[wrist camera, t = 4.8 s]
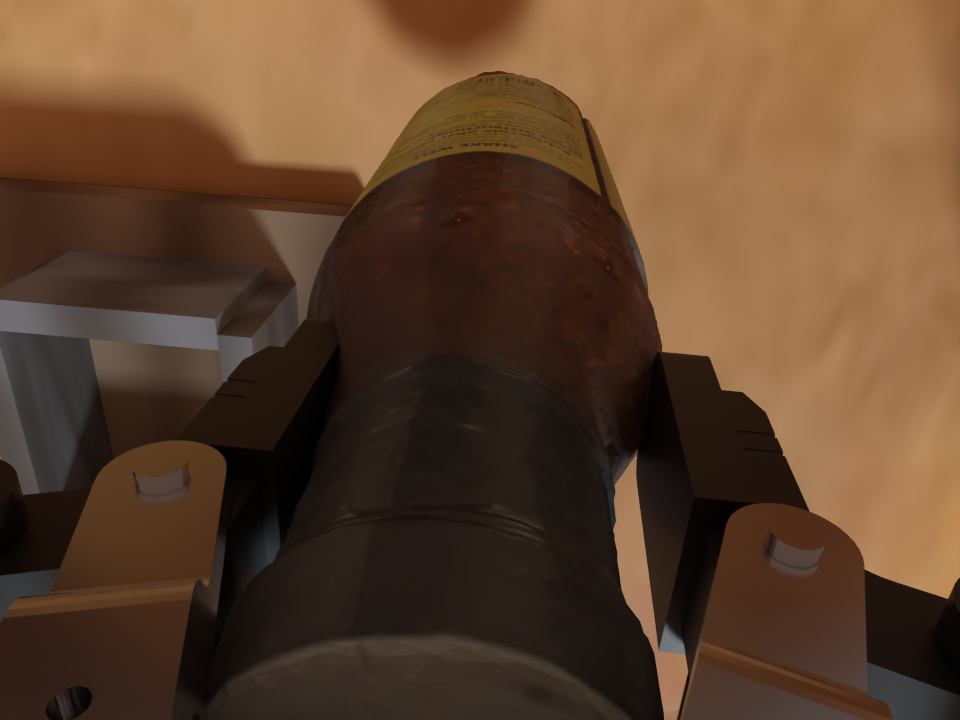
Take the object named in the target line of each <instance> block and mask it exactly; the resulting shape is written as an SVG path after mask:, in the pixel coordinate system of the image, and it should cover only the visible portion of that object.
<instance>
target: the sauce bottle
mask: <svg viewBox="0 0 960 720" xmlns="http://www.w3.org/2000/svg"><path fill="white" fill-rule="evenodd" d="M307 318H311V319H322V320H333V321H334V322H335V325H336V329H337V333H338V337H339V341H340V343H339V352H338V360H337V368H336V376H335V382H334V387H333V390H332V394H331V397H330V401H329V404H328V408H327V411H326V415H325V421H324V427H323V433H322V434H321V436H320V438H319V440H318V442H317V444H316V446H315V449H314V453H313V457H312V462H311V470H310V480H309V483H308V486H307V488H306V490H305V492H304V494H303V495H302V497H301V499H300V501H299V502H298V504H297V506H296V509H295V512H294V515H293V519H292V524H291V526H290V528H289V530H288V533H287V536H286V539H285V541H284V543H283V545H282V546H281V548H280V549H279V551H278V553H277V555H276V560H275V561H273V563H271V564H270V565H268V566H267V567H265V568H264V569H263V570H262V571H261V572H260V573H259V574H258V575H257V576H256V577H255V578H253V579H252V580H251V581H250V582H249V583H248V584H247V585H246V587H245V589H244V590H243V592H242V594H241V595H240V596H239V597H238V598H237V600H236V601H235V603H234V605H233V606H232V608H231V610H230V613H229V615H228V617H227V619H226V621H225V625H224V629H223V632H222V635H221V638H220V640H219V642H218V644H217V646H216V649H215V659H214V662H213V667H212V672H211V676H210V679H209V683H208V694H207V705H206V709H207V720H664V713H663V706H662V700H661V694H660V688H659V681H658V675H657V668H656V662H655V656H654V652H653V650H652V647H651V645H650V642H649V640H648V638H647V636H646V635H645V634H644V633H643V629H642V626H641V623H640V621H639V619H638V618H637V617H636V616H635V614H634V613H633V612H632V610H631V609H630V608H629V606H628V605H627V604H626V601H625V598H624V596H623V593H622V590H621V583H620V575H619V569H618V563H617V550H616V545H615V540H614V532H613V528H614V525H615V522H616V518H615V509H614V496H615V487H614V485H615V484H616V482H617V481H618V479H619V478H620V477H621V475H622V474H623V473H624V471H625V470H626V468H627V467H628V466H629V464H630V463H631V461H632V460H633V459H634V457H635V456H636V455H637V452H638V446H639V444H640V441H641V438H642V436H643V434H644V432H645V426H646V420H647V416H648V411H649V403H650V392H651V382H652V372H653V362H654V358H655V355H656V353H657V352H662V344H661V339H660V334H659V330H658V327H657V321H656V318H655V314H654V309H653V306H652V304H651V302H650V300H649V297H648V285H647V278H646V273H645V267H644V262H643V260H642V257H641V254H640V251H639V248H638V245H637V242H636V240H635V237H634V234H633V231H632V228H631V226H630V223H629V220H628V218H627V215H626V212H625V210H624V207H623V204H622V201H621V198H620V195H619V193H618V190H617V187H616V184H615V182H614V179H613V176H612V174H611V171H610V168H609V166H608V163H607V160H606V158H605V155H604V152H603V149H602V147H601V144H600V141H599V139H598V137H597V134H596V132H595V130H594V129H593V127H592V125H591V123H590V121H589V120H588V119H586V118H582V115H581V112H580V110H579V108H578V106H577V105H576V104H575V103H574V102H573V101H572V100H571V99H570V98H569V97H567V96H566V95H565V94H563V93H562V92H560V91H558V90H557V89H555V88H554V87H553V86H550V85H548V84H545V83H543V82H541V81H540V80H538V79H533V78H528V77H525V76H522V75H516V74H513V73H506V72H503V71H495V72H484V73H481V74H479V75H477V76H475V77H471V78H469V79H467V80H464V81H461V82H458V83H456V84H454V85H451V86H449V87H447V88H445V89H443V90H442V91H440V92H439V93H438V94H436V95H435V96H434V97H433V98H431V99H430V100H429V101H427V102H426V103H425V104H424V105H423V106H422V107H421V108H420V109H419V110H418V111H417V112H416V113H415V115H414V116H413V117H412V119H411V120H410V121H409V123H408V124H407V126H406V127H405V129H404V130H403V132H402V133H401V135H400V136H399V137H398V139H397V140H396V141H395V143H394V145H393V146H392V148H391V149H390V151H389V153H388V154H387V156H386V157H385V159H384V160H383V162H382V163H381V165H380V166H379V168H378V169H377V171H376V172H375V173H374V175H373V176H372V178H371V179H370V181H369V182H368V184H367V185H366V187H365V188H364V190H363V192H362V193H361V195H360V196H359V198H358V199H357V201H356V202H355V204H354V205H353V207H352V208H351V210H350V211H349V213H348V214H347V216H346V217H345V219H344V220H343V222H342V223H341V225H340V227H339V228H338V230H337V231H336V233H335V235H334V237H333V239H332V240H331V242H330V244H329V246H328V248H327V250H326V252H325V254H324V257H323V259H322V261H321V264H320V267H319V270H318V272H317V275H316V278H315V281H314V284H313V288H312V291H311V295H310V299H309V304H308V311H307Z"/></svg>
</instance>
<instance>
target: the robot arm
mask: <svg viewBox="0 0 960 720" xmlns="http://www.w3.org/2000/svg"><path fill="white" fill-rule="evenodd" d="M339 343H340V341H339V337H338V333H337V329H336V325H335V322H334V321H333V320H322V319H311V318H306V319H305V320H304V321H303V322H302V324H301V325H300V326H299V328H298V329H297V330H296V331H295V333H294V334H293V335H292V337H291V338H290V339H289V341H288V342H287V343H286V345H285V346H284V347H276V346H268V347H266V348H264V349H262V350H260V351H258V352H257V353H255V354H253V355H251V356H249V357H247V358H246V359H244V360H242V361H241V363H240V364H239V365H238V366H237V367H236V368H235V370H234V371H233V372H232V373H231V374H230V376H229V377H228V378H227V382H224V383H223V384H222V385H221V386H220V388H219V389H218V390H217V391H216V392H215V396H214V397H211V398H210V399H209V401H208V402H207V403H206V404H205V405H204V407H203V408H202V409H201V410H200V411H199V413H198V414H197V415H196V416H195V417H194V418H193V420H192V421H191V422H190V423H189V424H188V426H187V427H186V428H185V429H184V430H183V432H182V433H181V434H180V435H179V436H178V437H177V439H176V440H175V441H163V442H157V443H152V444H148V445H144V446H141V447H138V448H135V449H132V450H130V451H128V452H126V453H124V454H122V455H120V456H118V457H116V458H115V459H113V460H112V461H110V462H109V463H108V464H107V465H106V466H105V467H104V468H103V469H102V470H101V471H100V472H99V474H98V475H97V477H96V479H95V481H94V484H93V486H92V488H86V489H78V490H68V491H58V492H47V493H37V494H27V495H23V493H22V489H21V486H20V482H19V479H18V475H17V472H16V470H15V469H14V467H13V466H11V465H10V464H9V463H7V462H5V461H3V460H0V720H207V709H206V705H207V694H208V683H209V679H210V676H211V672H212V667H213V662H214V659H215V649H216V646H217V644H218V642H219V640H220V638H221V635H222V632H223V629H224V625H225V621H226V619H227V617H228V615H229V613H230V610H231V608H232V606H233V605H234V603H235V601H236V600H237V598H238V597H239V596H240V595H241V594H242V592H243V590H244V589H245V587H246V585H247V584H248V583H249V582H250V581H251V580H252V579H253V578H255V577H256V576H257V575H258V574H259V573H260V572H261V571H262V570H263V569H264V568H265V567H267V566H268V565H270V564H271V563H273V561H275V560H276V555H277V553H278V551H279V549H280V548H281V546H282V545H283V543H284V541H285V539H286V536H287V533H288V530H289V528H290V526H291V524H292V519H293V515H294V512H295V509H296V506H297V504H298V502H299V501H300V499H301V497H302V495H303V494H304V492H305V490H306V488H307V486H308V483H309V480H310V470H311V462H312V457H313V453H314V449H315V446H316V444H317V442H318V440H319V438H320V436H321V434H322V433H323V427H324V421H325V415H326V411H327V408H328V404H329V401H330V397H331V394H332V390H333V387H334V382H335V376H336V368H337V360H338V352H339ZM636 476H637V487H638V495H639V502H640V510H641V518H642V525H643V533H644V541H645V548H646V556H647V564H648V571H649V579H650V586H651V594H652V602H653V609H654V617H655V625H656V632H657V640H658V648H659V651H664V652H672V653H680V654H686V660H687V666H688V675H687V679H686V683H685V687H684V690H683V694H682V698H681V702H680V707H679V711H678V715H677V720H960V578H959V579H958V580H957V582H956V583H955V585H954V587H953V589H952V592H951V594H950V596H949V598H948V599H946V598H943V597H940V596H937V595H934V594H931V593H928V592H924V591H921V590H918V589H915V588H912V587H909V586H906V585H903V584H900V583H896V582H893V581H891V580H888V579H885V578H882V577H880V576H878V575H875V574H873V573H871V572H869V571H867V570H865V569H864V560H863V556H862V554H861V552H860V550H859V548H858V547H857V545H856V544H855V542H854V541H853V540H852V539H851V538H850V537H849V536H848V535H847V534H846V533H845V532H844V531H842V530H841V529H840V528H839V527H837V526H836V525H834V524H833V523H831V522H830V521H828V520H826V519H824V518H823V517H821V516H819V515H816V514H814V513H812V512H810V511H809V509H808V507H807V505H806V502H805V500H804V498H803V496H802V493H801V491H800V489H799V487H798V484H797V482H796V480H795V478H794V475H793V473H792V471H791V469H790V466H789V464H788V462H787V460H786V457H785V456H783V451H782V448H781V446H780V444H779V442H778V439H777V438H775V433H774V430H773V428H772V426H771V424H770V421H769V419H768V417H767V415H766V412H765V411H763V410H762V409H761V408H760V407H759V406H758V405H757V404H755V403H754V402H753V401H752V400H751V399H750V398H749V397H747V396H746V395H745V394H744V393H743V392H735V391H724V390H721V388H720V385H719V382H718V379H717V377H716V374H715V371H714V368H713V366H712V363H711V360H710V358H709V357H708V356H699V355H688V354H678V353H667V352H657V353H656V355H655V358H654V362H653V372H652V382H651V392H650V403H649V411H648V416H647V420H646V426H645V432H644V434H643V436H642V438H641V441H640V444H639V446H638V452H637V469H636Z"/></svg>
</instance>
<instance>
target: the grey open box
mask: <svg viewBox="0 0 960 720" xmlns="http://www.w3.org/2000/svg"><path fill="white" fill-rule="evenodd" d="M352 207H353V205H340V204H327V203H315V202H302V201H289V200H277V199H264V198H251V197H239V196H226V195H213V194H201V193H188V192H175V191H163V190H150V189H137V188H125V187H112V186H99V185H87V184H74V183H61V182H49V181H36V180H23V179H11V178H0V456H1V459H2V460H3V461H5V462H7V463H9V464H10V465H11V466H13V467H14V469H15V470H16V472H17V475H18V479H19V482H20V486H21V489H22V493H23V495H27V494H37V493H47V492H58V491H68V490H78V489H86V488H92V486H93V484H94V481H95V479H96V477H97V475H98V474H99V472H100V471H101V470H102V469H103V468H104V467H105V466H106V465H107V464H108V463H109V462H110V461H112V460H113V459H115V458H116V457H118V456H120V455H122V454H124V453H126V452H128V451H130V450H132V449H135V448H138V447H141V446H144V445H148V444H152V443H157V442H163V441H175V440H176V439H177V437H178V436H179V435H180V434H181V433H182V432H183V430H184V429H185V428H186V427H187V426H188V424H189V423H190V422H191V421H192V420H193V418H194V417H195V416H196V415H197V414H198V413H199V411H200V410H201V409H202V408H203V407H204V405H205V404H206V403H207V402H208V401H209V399H210V398H211V397H214V396H215V392H216V391H217V390H218V389H219V388H220V386H221V385H222V384H223V383H224V382H227V378H228V377H229V376H230V374H231V373H232V372H233V371H234V370H235V368H236V367H237V366H238V365H239V364H240V363H241V361H242V360H244V359H246V358H247V357H249V356H251V355H253V354H255V353H257V352H258V351H260V350H262V349H264V348H266V347H268V346H276V347H284V346H285V345H286V343H287V342H288V341H289V339H290V338H291V337H292V335H293V334H294V333H295V331H296V330H297V329H298V328H299V326H300V325H301V324H302V322H303V321H304V320H305V319H306V318H307V311H308V304H309V299H310V295H311V291H312V288H313V284H314V281H315V278H316V275H317V272H318V270H319V267H320V264H321V261H322V259H323V257H324V254H325V252H326V250H327V248H328V246H329V244H330V242H331V240H332V239H333V237H334V235H335V233H336V231H337V230H338V228H339V227H340V225H341V223H342V222H343V220H344V219H345V217H346V216H347V214H348V213H349V211H350V210H351V208H352Z"/></svg>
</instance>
